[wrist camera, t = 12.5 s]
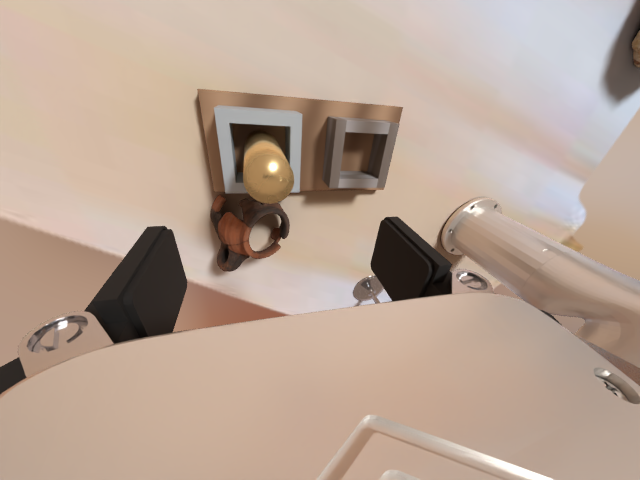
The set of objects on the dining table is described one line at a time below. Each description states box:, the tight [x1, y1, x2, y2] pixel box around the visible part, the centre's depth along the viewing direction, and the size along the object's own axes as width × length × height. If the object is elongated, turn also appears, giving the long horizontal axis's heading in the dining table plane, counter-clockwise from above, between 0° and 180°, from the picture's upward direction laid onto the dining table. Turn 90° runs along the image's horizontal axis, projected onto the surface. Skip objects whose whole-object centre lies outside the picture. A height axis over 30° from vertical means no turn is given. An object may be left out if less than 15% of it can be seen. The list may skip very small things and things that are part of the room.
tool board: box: [197, 89, 403, 192], centre depth 29 cm, size 24×11×5 cm, turn 85°
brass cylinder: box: [243, 130, 294, 203], centre depth 24 cm, size 4×4×12 cm
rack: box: [214, 105, 302, 193], centre depth 27 cm, size 8×8×4 cm
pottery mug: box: [211, 195, 290, 272], centre depth 33 cm, size 12×9×8 cm
